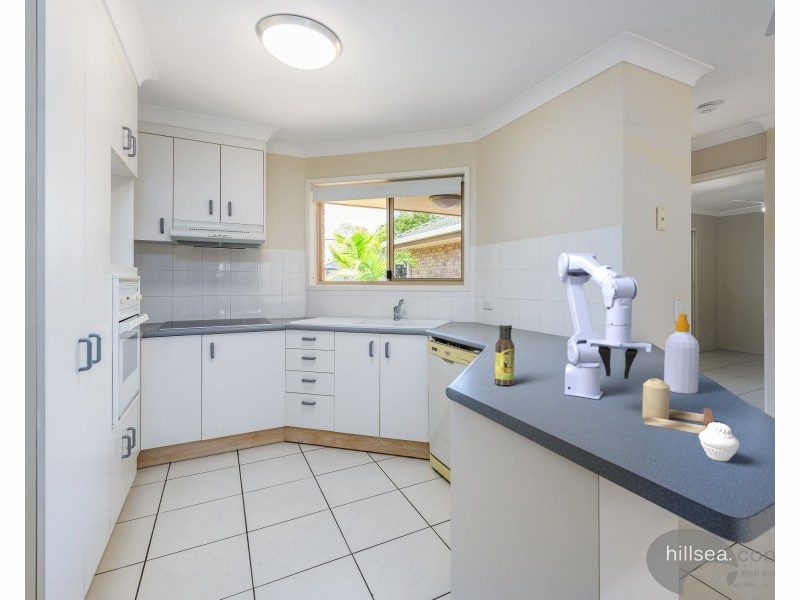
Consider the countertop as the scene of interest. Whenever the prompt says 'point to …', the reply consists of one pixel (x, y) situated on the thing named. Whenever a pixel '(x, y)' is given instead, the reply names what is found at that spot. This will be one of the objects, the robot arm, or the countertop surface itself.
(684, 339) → the soap bottle
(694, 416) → the channel
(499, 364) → the sauce bottle
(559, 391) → the countertop surface
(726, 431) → the muffin
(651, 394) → the candle
